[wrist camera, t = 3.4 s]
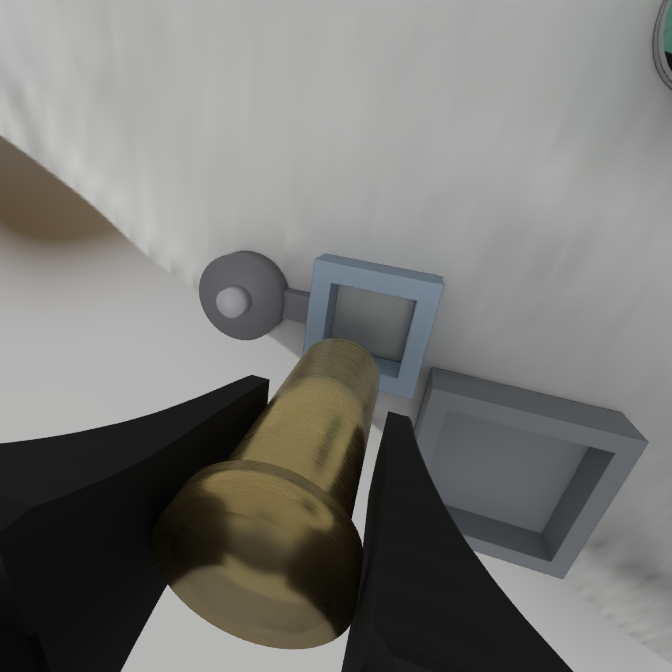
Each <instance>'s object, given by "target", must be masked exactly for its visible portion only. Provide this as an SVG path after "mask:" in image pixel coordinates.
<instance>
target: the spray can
mask: <svg viewBox="0 0 672 672" xmlns="http://www.w3.org/2000/svg"><path fill="white" fill-rule="evenodd" d="M653 48H654V59H655V62H656V66H657V70H658V72H659V74H660V75H661V77H662V79H663V80H664V82H665V83H666V84H667V85H668V86H669V87H670V88H671V89H672V0H665V1H664V3H663V5H662V7H661V10H660V13H659V16H658V19H657V22H656V26H655V33H654V39H653Z"/></svg>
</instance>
